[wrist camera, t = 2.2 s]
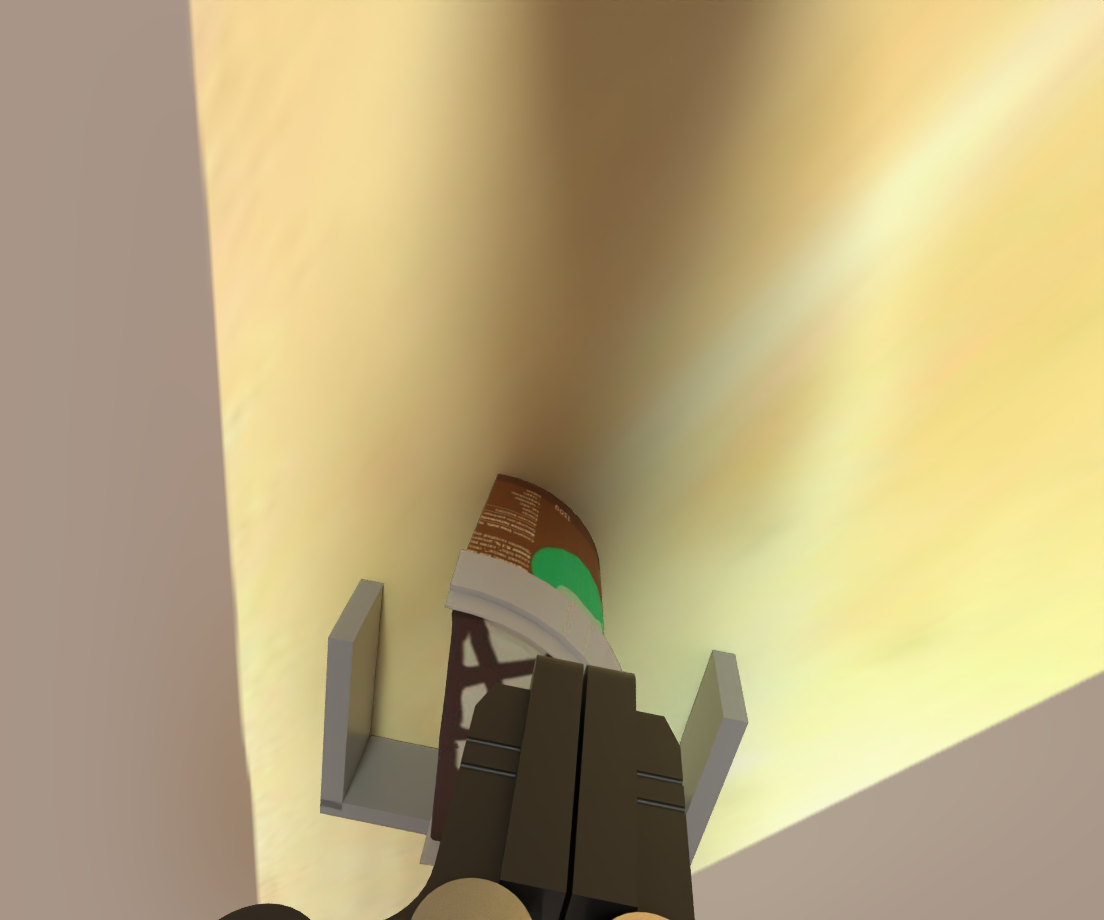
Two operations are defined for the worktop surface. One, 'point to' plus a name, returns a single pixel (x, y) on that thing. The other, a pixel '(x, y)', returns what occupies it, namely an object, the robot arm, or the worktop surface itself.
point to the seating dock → (410, 770)
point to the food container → (514, 614)
